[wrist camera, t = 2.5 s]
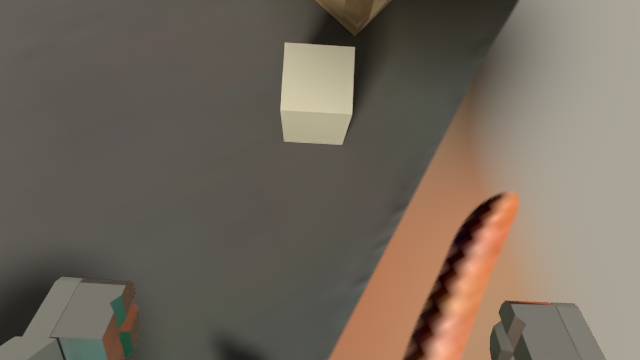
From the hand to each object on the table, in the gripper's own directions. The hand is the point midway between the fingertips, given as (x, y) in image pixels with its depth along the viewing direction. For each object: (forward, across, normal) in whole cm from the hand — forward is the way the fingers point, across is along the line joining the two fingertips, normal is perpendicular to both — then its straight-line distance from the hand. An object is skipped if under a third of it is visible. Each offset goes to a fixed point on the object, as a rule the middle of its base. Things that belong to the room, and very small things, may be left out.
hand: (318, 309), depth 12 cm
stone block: (+29, 0, +10) cm, 30 cm away
